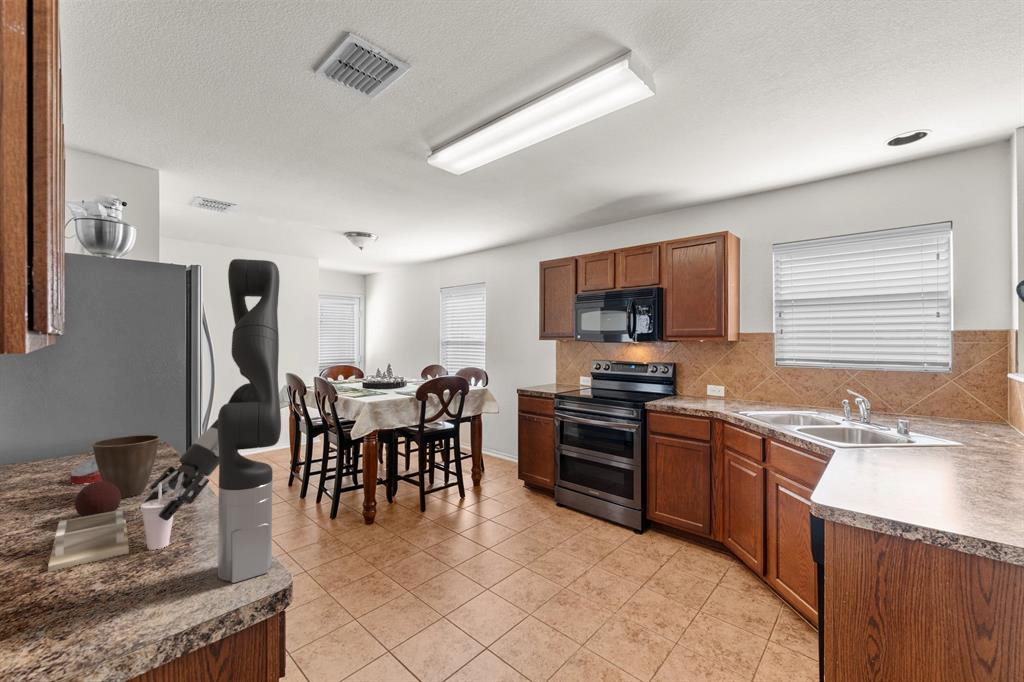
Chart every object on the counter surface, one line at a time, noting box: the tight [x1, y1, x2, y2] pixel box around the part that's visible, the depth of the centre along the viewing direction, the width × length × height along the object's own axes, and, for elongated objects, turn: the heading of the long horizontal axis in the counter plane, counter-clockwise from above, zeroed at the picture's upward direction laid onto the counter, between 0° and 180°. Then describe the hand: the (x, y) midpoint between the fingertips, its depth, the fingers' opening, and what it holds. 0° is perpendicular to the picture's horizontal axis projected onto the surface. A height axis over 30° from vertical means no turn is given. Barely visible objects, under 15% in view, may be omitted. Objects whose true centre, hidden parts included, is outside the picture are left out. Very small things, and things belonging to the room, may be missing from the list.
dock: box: [47, 509, 130, 573], centre depth 99 cm, size 20×12×5 cm, turn 42°
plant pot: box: [92, 434, 161, 499], centre depth 132 cm, size 15×15×16 cm
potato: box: [74, 481, 122, 517], centre depth 115 cm, size 9×12×9 cm
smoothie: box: [139, 482, 175, 551], centre depth 99 cm, size 6×6×14 cm
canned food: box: [69, 455, 102, 484], centre depth 146 cm, size 11×10×10 cm
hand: (152, 514), depth 98 cm, fingers open, 8 cm apart
